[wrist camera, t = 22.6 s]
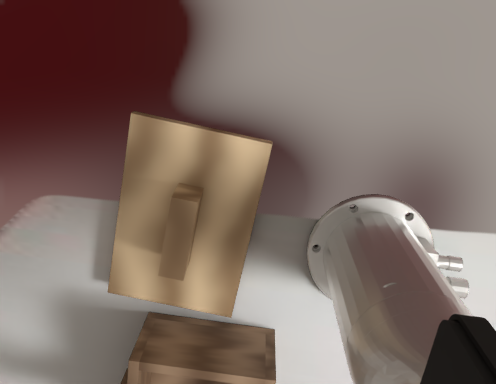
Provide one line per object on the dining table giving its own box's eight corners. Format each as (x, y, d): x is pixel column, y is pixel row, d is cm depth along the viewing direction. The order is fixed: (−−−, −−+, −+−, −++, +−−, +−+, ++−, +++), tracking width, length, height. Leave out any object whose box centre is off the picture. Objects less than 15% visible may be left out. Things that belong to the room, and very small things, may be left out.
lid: (272, 138, 45) (272, 155, 40) (232, 306, 52) (228, 341, 46) (137, 109, 45) (118, 121, 39) (114, 281, 51) (94, 314, 45)
